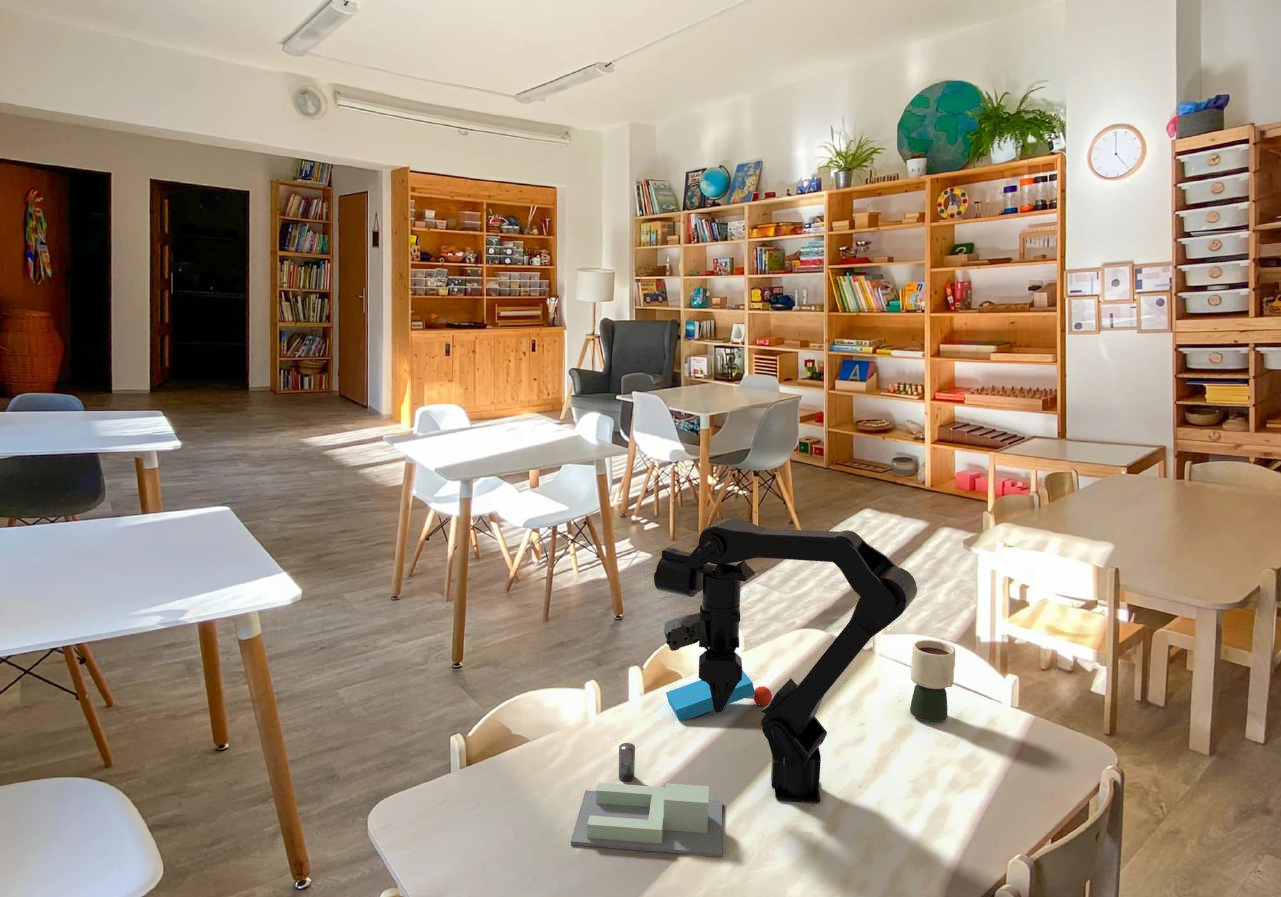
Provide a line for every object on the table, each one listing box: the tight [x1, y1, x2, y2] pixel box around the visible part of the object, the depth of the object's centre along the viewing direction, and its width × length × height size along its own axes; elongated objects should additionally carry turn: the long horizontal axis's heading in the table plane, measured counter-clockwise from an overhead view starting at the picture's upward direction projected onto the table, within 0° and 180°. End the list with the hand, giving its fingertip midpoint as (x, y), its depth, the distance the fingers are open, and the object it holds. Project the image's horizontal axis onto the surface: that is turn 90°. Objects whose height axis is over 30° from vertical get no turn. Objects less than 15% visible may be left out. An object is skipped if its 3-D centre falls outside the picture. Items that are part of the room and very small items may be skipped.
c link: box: [587, 782, 710, 844], centre depth 118 cm, size 16×10×4 cm, turn 85°
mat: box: [570, 789, 723, 858], centre depth 119 cm, size 20×12×1 cm, turn 84°
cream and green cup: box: [909, 639, 956, 722], centre depth 150 cm, size 11×7×13 cm, turn 17°
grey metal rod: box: [618, 742, 636, 783], centre depth 130 cm, size 2×2×5 cm
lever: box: [665, 669, 773, 722], centre depth 153 cm, size 7×7×18 cm
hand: (717, 698), depth 132 cm, fingers open, 9 cm apart
